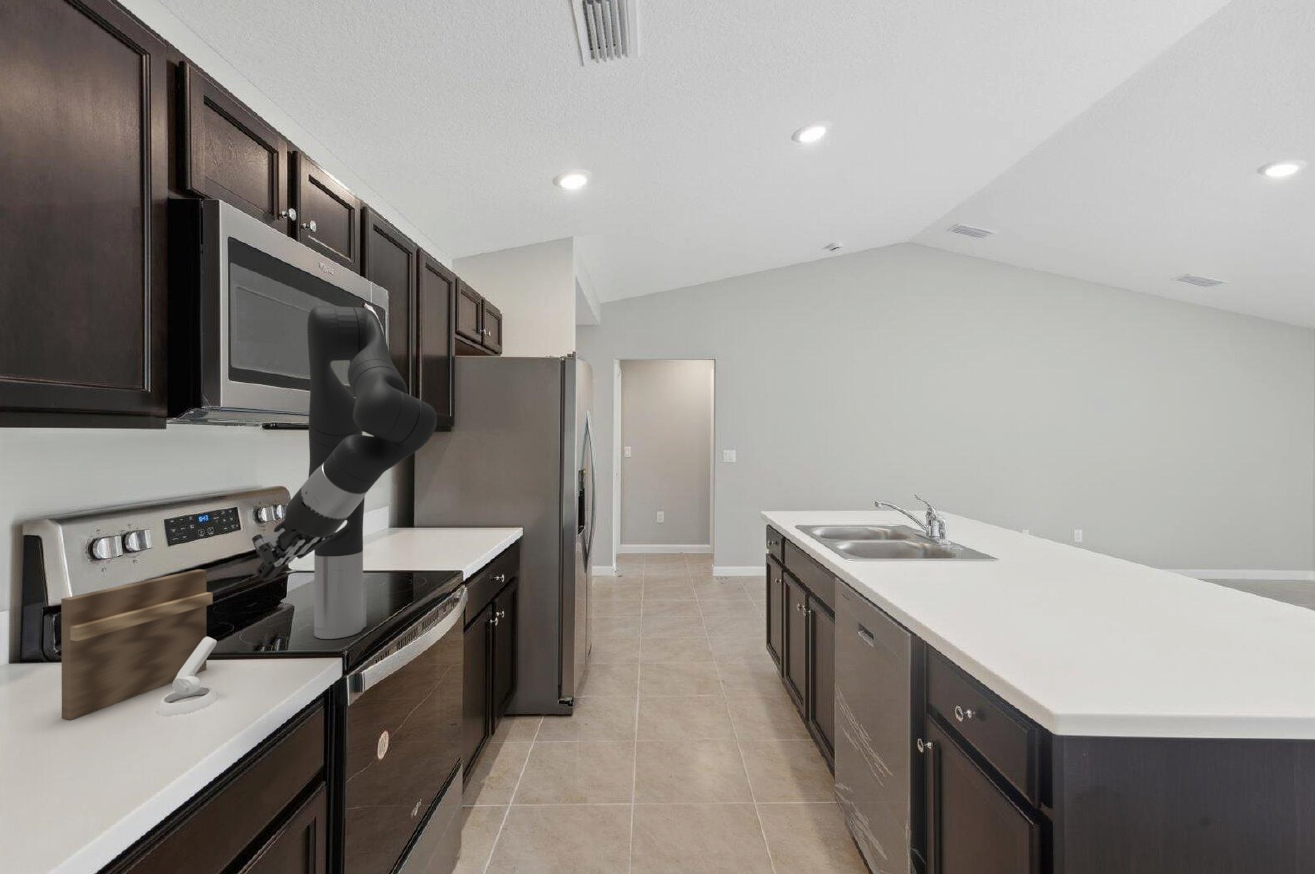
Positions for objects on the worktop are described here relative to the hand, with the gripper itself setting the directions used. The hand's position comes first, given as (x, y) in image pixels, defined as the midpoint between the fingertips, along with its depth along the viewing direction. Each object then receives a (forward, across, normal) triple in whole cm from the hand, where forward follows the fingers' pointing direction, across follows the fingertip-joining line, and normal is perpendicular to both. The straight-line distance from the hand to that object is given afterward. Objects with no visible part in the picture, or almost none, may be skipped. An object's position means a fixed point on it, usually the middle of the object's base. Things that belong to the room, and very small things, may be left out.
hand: (263, 575), depth 90 cm
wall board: (+35, -1, -4) cm, 35 cm away
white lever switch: (+27, 0, +4) cm, 27 cm away
